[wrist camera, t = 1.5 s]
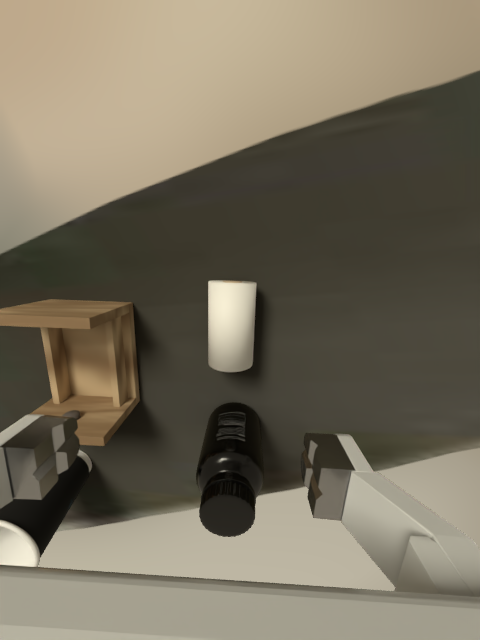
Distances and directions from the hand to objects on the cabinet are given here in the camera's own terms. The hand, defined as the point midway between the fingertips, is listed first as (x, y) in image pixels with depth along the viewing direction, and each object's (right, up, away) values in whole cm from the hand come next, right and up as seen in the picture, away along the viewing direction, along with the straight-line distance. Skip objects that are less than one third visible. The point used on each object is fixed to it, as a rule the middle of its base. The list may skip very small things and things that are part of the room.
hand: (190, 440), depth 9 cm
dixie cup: (-22, -16, +26) cm, 38 cm away
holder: (-16, 0, +22) cm, 27 cm away
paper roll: (+1, +4, +18) cm, 18 cm away
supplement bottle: (+1, -9, +24) cm, 25 cm away
